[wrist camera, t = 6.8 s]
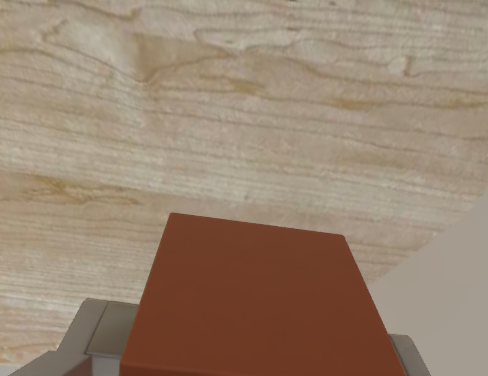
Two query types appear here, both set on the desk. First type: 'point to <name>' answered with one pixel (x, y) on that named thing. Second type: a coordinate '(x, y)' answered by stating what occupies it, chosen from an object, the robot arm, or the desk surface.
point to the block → (255, 306)
